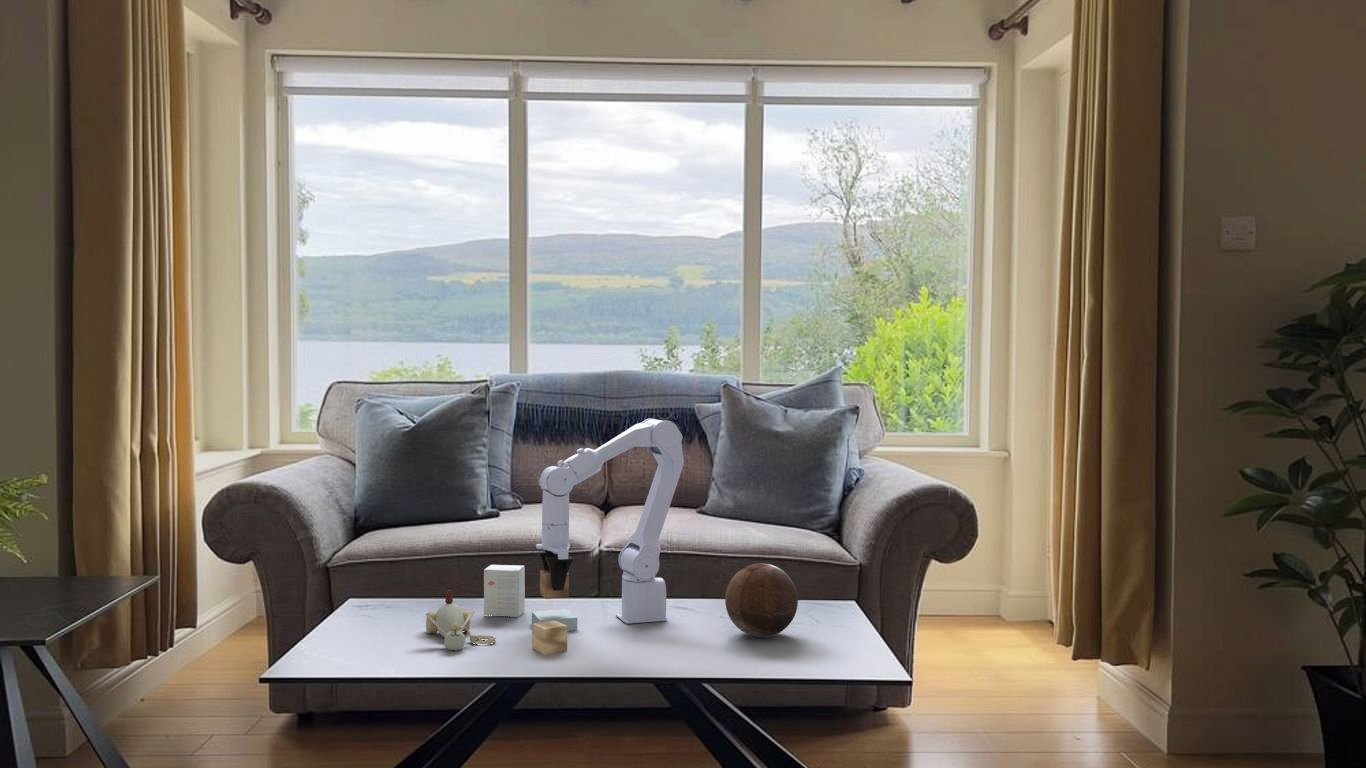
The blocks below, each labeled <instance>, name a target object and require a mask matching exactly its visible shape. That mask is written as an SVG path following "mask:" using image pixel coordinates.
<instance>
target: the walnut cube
mask: <svg viewBox="0 0 1366 768" xmlns="http://www.w3.org/2000/svg"><path fill="white" fill-rule="evenodd" d="M569 581H570V574H569V572H568V573H567V576H566V581H565V585H564V589H563V590H557V591H554V590H553V588H552V583H551V574H550V570H544V569H542V570H539V594H540V595H541V596H542V597H543V598H544V599H545V600H546V599H550V600H551V599H561V598H565V599H566V598H569V597H570V586H569V585H570V582H569Z"/></svg>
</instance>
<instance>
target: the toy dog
mask: <svg viewBox="0 0 1366 768" xmlns="http://www.w3.org/2000/svg"><path fill="white" fill-rule="evenodd" d="M453 602H454V599H453V593H452V590H451V589H448V590H447V591H446V594H445V601H444V604H442V605H440V606H439V607H438V609H437V611H428V612H427V613H425V615H426V620H425V621H426V622H425V631H426V634H427V633H436V634H437V633H439V634H440V636H442V637H443V638H444V639H443V641H444V642H443V644H444V646H445V647H446V649H447V650H448V651H451V650H458V651H460V650H462V648H463V647H464V646H465V643H466V636H465V634H464V632H462V631H467V632H466V633H467V634H468V636H469V641H470V642H471V644H472V643H475V645H476V644H491V643H494V644H495V642H496V639H497V636H493V635H483V634H471V632H470V626H471V619H472V617H473V616H474V614H475V612H476V608H473V609H472V610H471V611H469V610H463V609H462V608H461V607H460V606H458V605H457V604H454V603H453ZM481 639H488V640H486V641H483V640H481Z"/></svg>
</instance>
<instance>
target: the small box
mask: <svg viewBox="0 0 1366 768" xmlns="http://www.w3.org/2000/svg"><path fill="white" fill-rule="evenodd" d="M525 573H526V571H525V565H513V564H511V565H509V564H490V565H489V566H487V567H486V568H484V569H483V616H484V615H488V616H487V617H492V616H508V617H507V618H519V617H521V615H523V613H524V612H525V609H526V603H525V602H526V599H525V598H526V595H525V593H526V591H525V590H526V589H525V584H526V583H525V582H526V581H525V579H526V578H525V576H526V575H525ZM489 615H490V616H489ZM491 615H492V616H491ZM509 616H510V617H509Z"/></svg>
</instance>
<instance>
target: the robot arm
mask: <svg viewBox="0 0 1366 768" xmlns="http://www.w3.org/2000/svg"><path fill="white" fill-rule="evenodd" d="M682 440H683V435H682V433H681V431H680V429H679V428H678V426H677V425H676V423H674V422H673V421H670V420H661V419H656V418H647V419H644V420H643V421H642V422H639V423H635V424H634V425H632V426H631V427H629V428H627V429H626V430H625V431H623V432H621V433H619V434H618V435H617V436H615V437H613V438H612V439H610V440H609V441H607V442H605V443H603V444H602V445H601V446H599V447H597V448H596V449H593V448H589V447H587V448H578V449H577V450H576V454H573V455H572V456H570V457H568V458H567V459H564V460H563V459H560V460H559V461H557V466H555V465H554V466H553V465H552V466H548V467H546V468H545V469H544V470H543V471H542V473H541V474H540V478H538V484H539V487H540V488H541V490H542V502H541V503H542V504H541V515H542V516H541V543H537V544H535V547H536V549H538V550H539V551H538V552H537V555H538V557H539V560H540V561H541V564H542V568H543V570H550V574H551V583H552V588H553V590H554V591H557V590H563V589H564V585H565V581H566V576H567V573H569V570H570V567H571V566H572V564H573V561H574V558H573V557H572V556H569V550H570V549H571V548H570V547H571V544H570V493H571V491H572V490H573V488H574V487H575V486H577V485H578V484H579V483H581V482H583V481H585V480H587V479H589V478H591V477H592V476H594V475H596V474H597V473H599V472H601V470H602V466H603V465H604V463H605V462H607V461H609V460H611V459H613V458H614V457H617V456H618V455H620V454H621V455H622V454H623V453H625V452H627V451H628V450H631V449H633V448H635V447H636V448H638V447H640V448H647V449H648V450H649V451H650V452H651V454H653V457H654V459H655V461H656V462H657V468H656V470H655V474H654V476H653V480H652V482H651V486H650V488H649V492H648V493H647V494H648V495H647V497H646V500H645V502H644V506H643V510H642V512H641V515H640V518H639V521H638V524H637V527H636V530H635V532H634V533H633V534H632V535H631V536H630V537H629V538H628V541H627V543H626V545H625V546H624V547H623V548H622V549H621V551H620V553H619V554H618V565H619V567H620V569H621V570H622V571H623V573H622V575H621V578H622V579H621V612H618V613H615V616H616V617H618V618H619V620H621V621H622V622H623V623H625V624H629V625H630V624H639V623H651V622H652V623H653V622H655V623H656V622H665V621H668V618H667V587H666V581H665V579H664V578H662V577H656V576H657V574H658V572H659V569H660V554H661V550H662V549H661V545H660V536H661V533H662V530H663V528H664V524H665V521H666V519H667V515H668V512H669V509H670V506H671V504H672V500H673V497H674V496H675V495H674V494H675V492H676V488H677V486H678V482H679V479H680V476H681V473H682V471H683V467H684V465H685V464H684V463H685V460H684V454H683V445H682ZM541 549H542V550H543V551H540V550H541Z"/></svg>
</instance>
